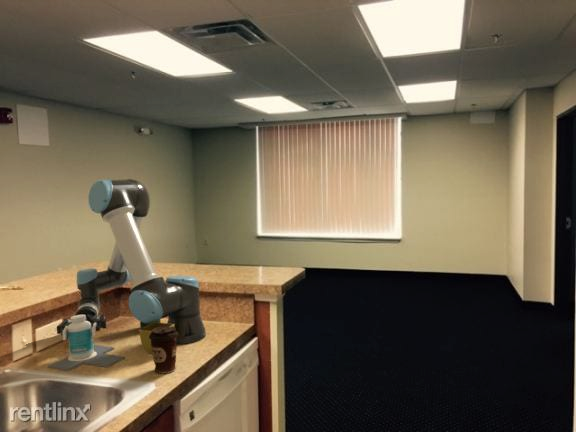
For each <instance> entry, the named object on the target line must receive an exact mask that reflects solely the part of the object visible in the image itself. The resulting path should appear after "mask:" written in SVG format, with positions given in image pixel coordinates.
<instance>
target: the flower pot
mask: <svg viewBox="0 0 576 432" xmlns="http://www.w3.org/2000/svg"><path fill="white" fill-rule="evenodd" d="M157 327H174V324H168V323H165V322H161V323H156V322H155V323H152V324H150V325H148V326H146V327H144V328H142V329H141V328H140V329H138V333H139V338H140V342H141V346H142V347H143V349H144V351H145V352H146V353H147V354H148V355H153V354H152V348H151V339H149V335H150V334H151V332H152V331H151V330H152V329H154V328H157Z"/></svg>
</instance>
